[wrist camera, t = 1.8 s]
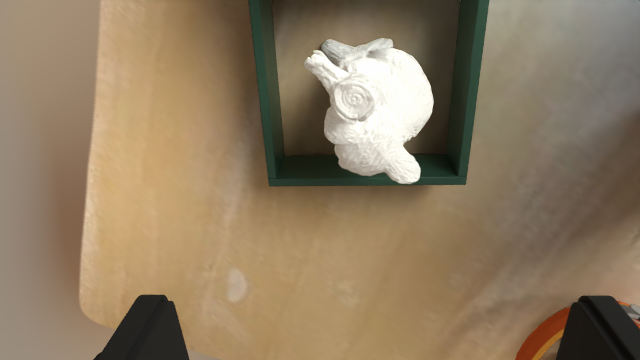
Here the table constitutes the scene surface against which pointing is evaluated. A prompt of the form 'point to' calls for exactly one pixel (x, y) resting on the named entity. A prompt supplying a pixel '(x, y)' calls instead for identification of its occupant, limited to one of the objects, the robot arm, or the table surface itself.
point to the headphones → (558, 332)
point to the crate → (326, 167)
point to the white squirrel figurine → (373, 106)
